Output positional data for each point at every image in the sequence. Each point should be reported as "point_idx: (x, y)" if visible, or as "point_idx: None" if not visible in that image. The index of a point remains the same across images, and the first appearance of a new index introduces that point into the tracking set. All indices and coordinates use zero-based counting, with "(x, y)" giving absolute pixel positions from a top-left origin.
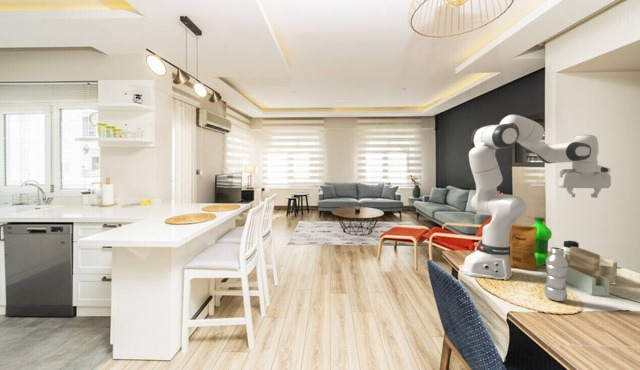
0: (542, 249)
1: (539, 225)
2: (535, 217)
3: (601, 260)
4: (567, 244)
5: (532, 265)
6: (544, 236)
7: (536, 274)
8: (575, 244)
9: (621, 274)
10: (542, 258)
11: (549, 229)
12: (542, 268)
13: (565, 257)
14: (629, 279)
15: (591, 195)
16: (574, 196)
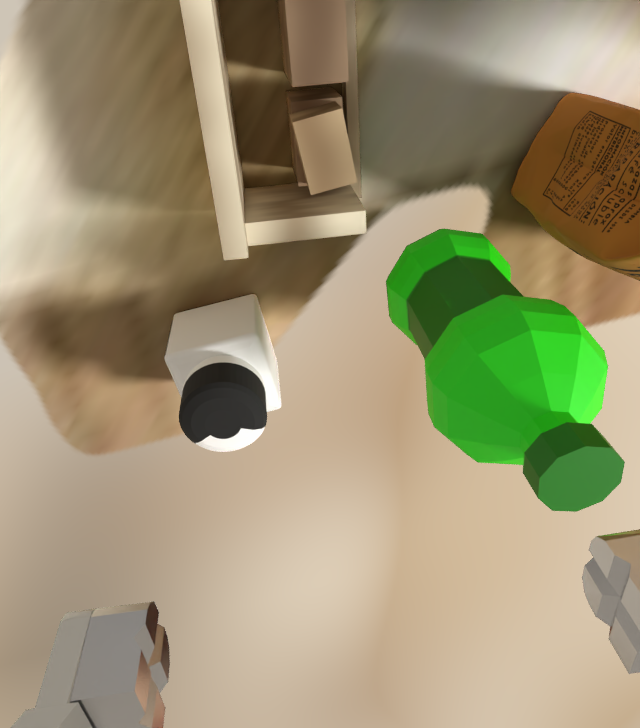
0: (477, 270)
1: (570, 397)
2: (621, 476)
3: (215, 26)
4: (258, 389)
5: (593, 99)
6: (524, 300)
7: (597, 16)
8: (215, 379)
9: (26, 177)
10: (461, 234)
11: (468, 385)
12: (471, 170)
13: (357, 203)
14: (25, 73)
15: (157, 698)
16: (627, 541)
